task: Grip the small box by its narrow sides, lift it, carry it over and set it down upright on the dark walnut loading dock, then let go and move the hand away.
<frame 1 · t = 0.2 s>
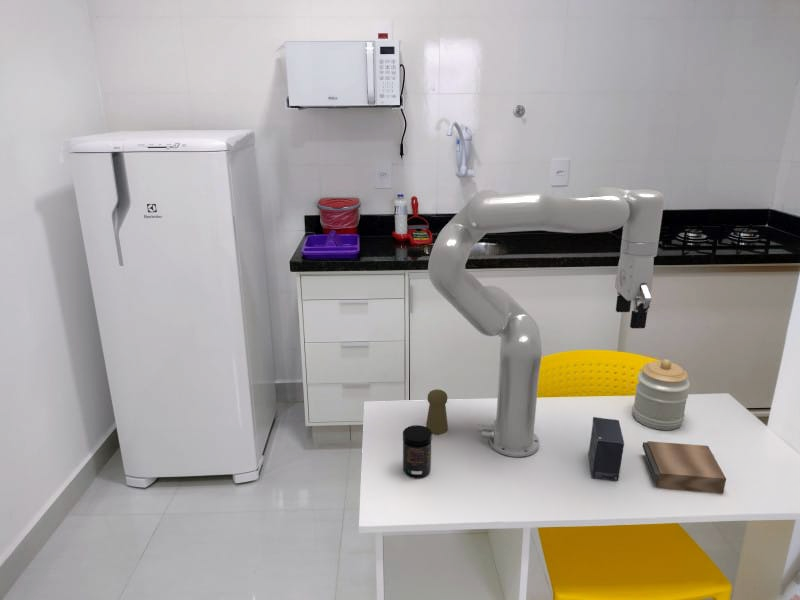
hand: (629, 319, 142), 36 cm above the table, tool pointing down, fingers open, 9 cm apart
cork: (436, 429, 165), on the table
small box: (603, 467, 149), on the table
supplement container: (416, 471, 148), on the table
dock: (682, 473, 147), on the table
jar: (657, 418, 170), on the table
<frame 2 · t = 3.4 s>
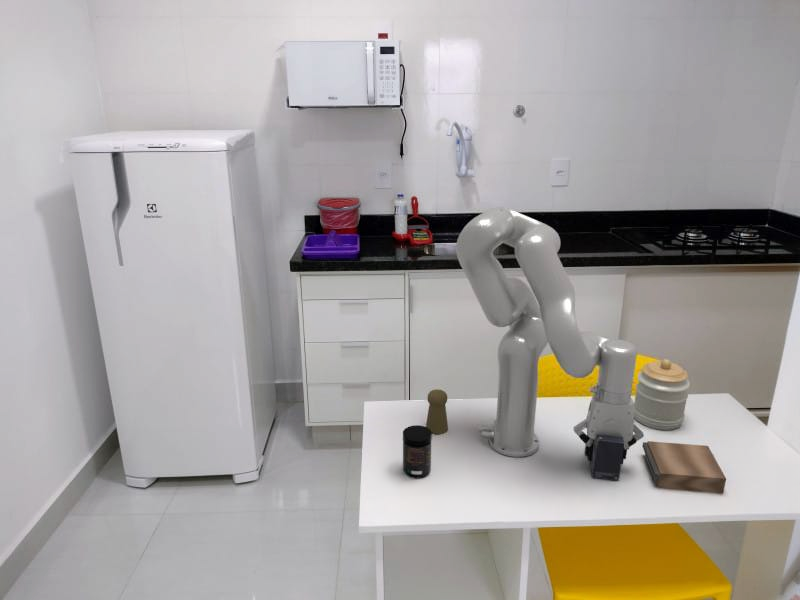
hand: (604, 458, 149), 2 cm above the table, tool pointing down, fingers closed on small box, 6 cm apart
small box: (603, 467, 149), on the table, touching gripper
everything else where it was.
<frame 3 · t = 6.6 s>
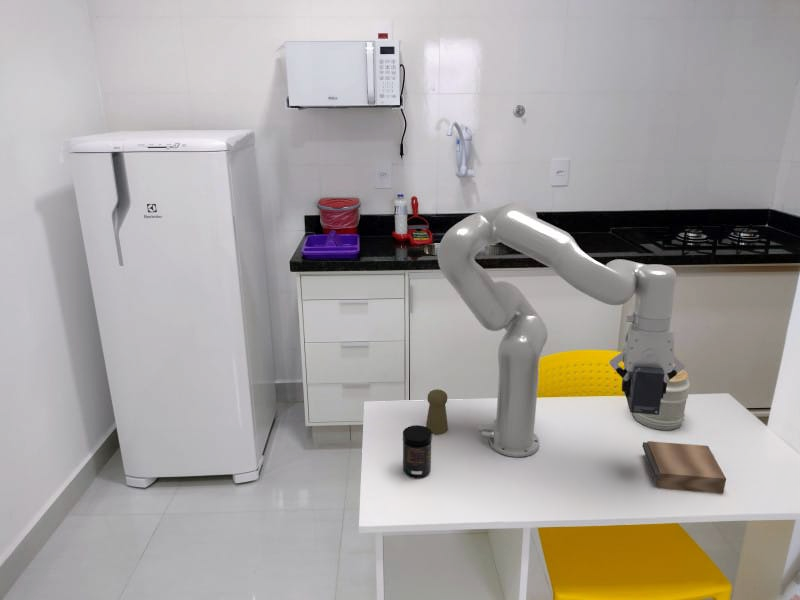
hand: (643, 394, 141), 20 cm above the table, tool pointing down, fingers closed on small box, 6 cm apart
small box: (641, 403, 142), point 18 cm above the table, touching gripper
everything else where it was.
when the fingers open (7 cm above the table, at t = 10.2 s): small box stays where it is, resting on dock.
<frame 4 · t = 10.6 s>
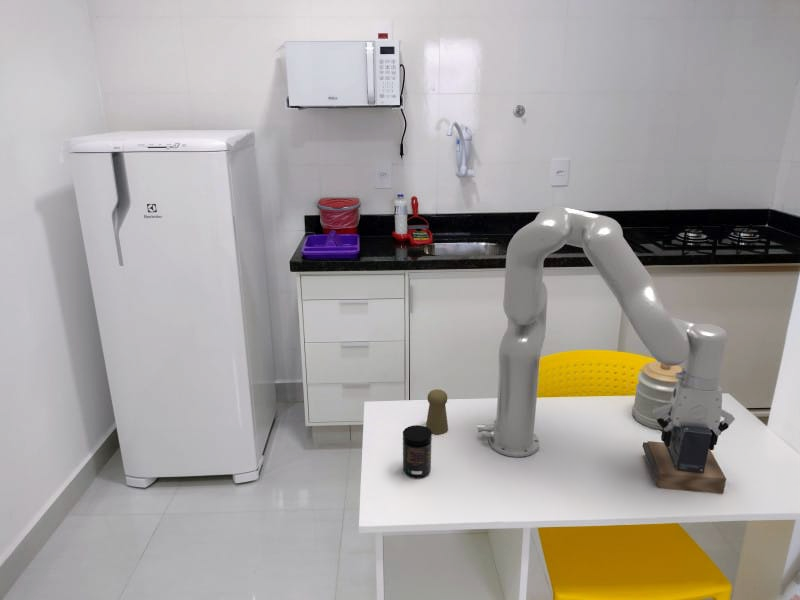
hand: (687, 445, 144), 8 cm above the table, tool pointing down, fingers open, 9 cm apart
small box: (684, 459, 146), point 4 cm above the table, touching dock
everything else where it was.
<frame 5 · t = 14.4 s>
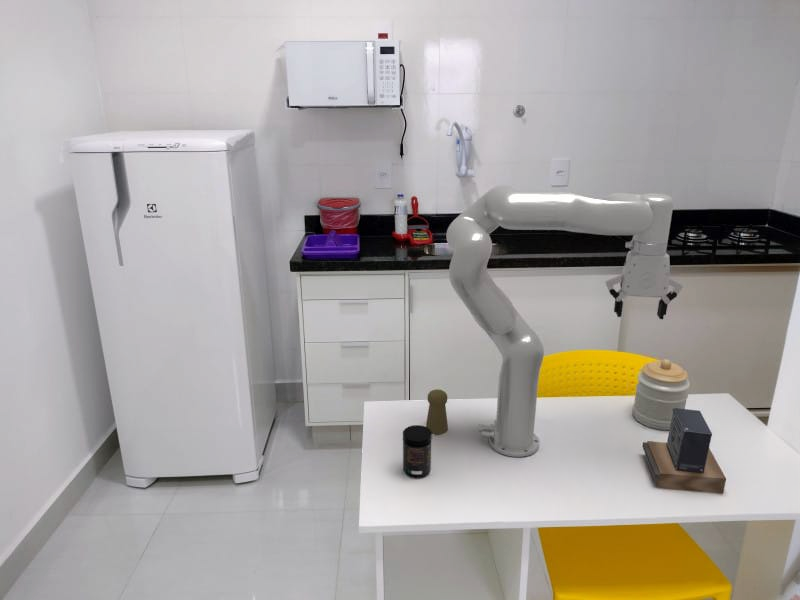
hand: (639, 316, 151), 33 cm above the table, tool pointing down, fingers open, 9 cm apart
nothing on the table moved.
at the end: small box inside the target area (0.0 cm from its centre), point 3.8 cm above the table; small box tilted 0°; the gripper is holding nothing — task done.
